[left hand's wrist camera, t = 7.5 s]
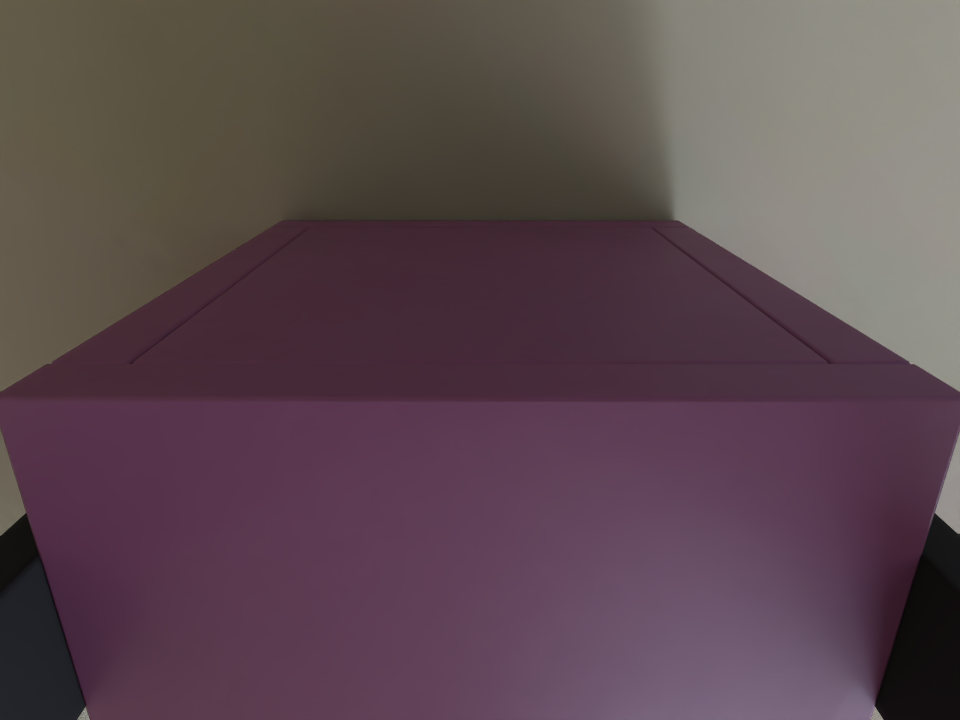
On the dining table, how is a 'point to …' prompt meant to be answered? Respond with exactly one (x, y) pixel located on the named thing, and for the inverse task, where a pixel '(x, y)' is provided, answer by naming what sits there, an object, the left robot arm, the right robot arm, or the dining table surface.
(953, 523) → the dining table surface
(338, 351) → the purple rectangular block
